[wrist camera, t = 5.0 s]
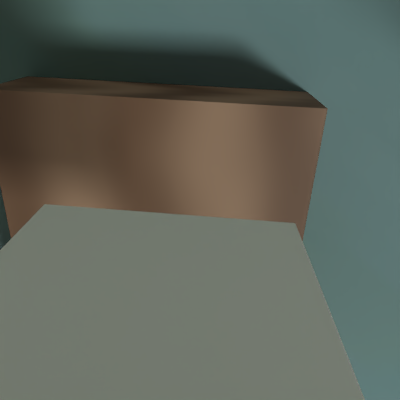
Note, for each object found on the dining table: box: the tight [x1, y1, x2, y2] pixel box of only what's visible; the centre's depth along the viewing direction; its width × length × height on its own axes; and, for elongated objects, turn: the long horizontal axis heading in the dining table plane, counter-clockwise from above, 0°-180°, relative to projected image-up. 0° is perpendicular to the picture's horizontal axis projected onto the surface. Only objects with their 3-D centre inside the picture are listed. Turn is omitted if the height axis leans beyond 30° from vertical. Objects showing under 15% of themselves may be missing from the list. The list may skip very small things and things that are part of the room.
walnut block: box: [0, 77, 327, 240], centre depth 20 cm, size 14×14×4 cm
